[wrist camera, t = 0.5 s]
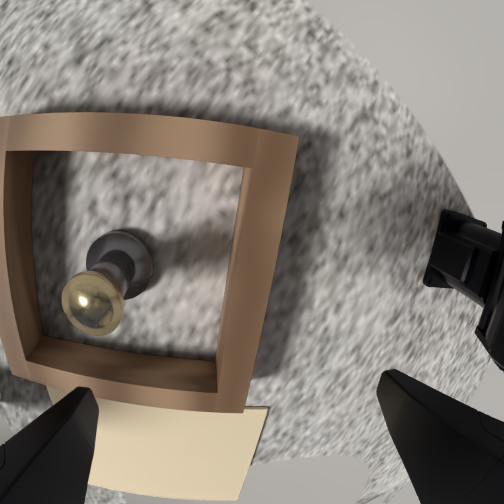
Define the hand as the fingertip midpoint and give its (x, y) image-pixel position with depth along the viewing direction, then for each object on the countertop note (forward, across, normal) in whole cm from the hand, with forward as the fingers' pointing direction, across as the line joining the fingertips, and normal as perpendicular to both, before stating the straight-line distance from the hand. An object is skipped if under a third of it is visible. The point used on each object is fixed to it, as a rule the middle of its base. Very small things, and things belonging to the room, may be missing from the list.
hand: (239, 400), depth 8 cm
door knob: (+12, +7, 0) cm, 14 cm away
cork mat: (+12, +8, +22) cm, 26 cm away
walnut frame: (+12, +7, 0) cm, 14 cm away
